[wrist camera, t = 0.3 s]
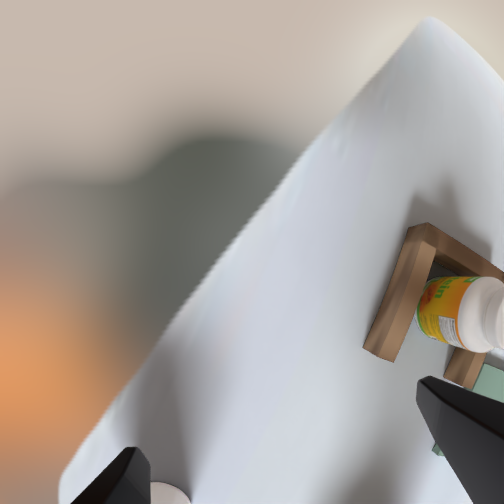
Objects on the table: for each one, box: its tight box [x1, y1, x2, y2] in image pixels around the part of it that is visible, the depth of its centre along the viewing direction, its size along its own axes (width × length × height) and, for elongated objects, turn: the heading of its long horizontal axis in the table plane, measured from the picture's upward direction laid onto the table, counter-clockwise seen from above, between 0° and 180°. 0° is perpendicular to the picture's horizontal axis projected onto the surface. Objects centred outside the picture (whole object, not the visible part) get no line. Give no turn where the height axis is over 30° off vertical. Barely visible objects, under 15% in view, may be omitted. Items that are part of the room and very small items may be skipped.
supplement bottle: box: [414, 276, 504, 353], centre depth 19 cm, size 5×5×10 cm
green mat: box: [432, 363, 504, 456], centre depth 23 cm, size 10×10×1 cm
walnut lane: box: [363, 222, 504, 389], centre depth 22 cm, size 10×11×3 cm
